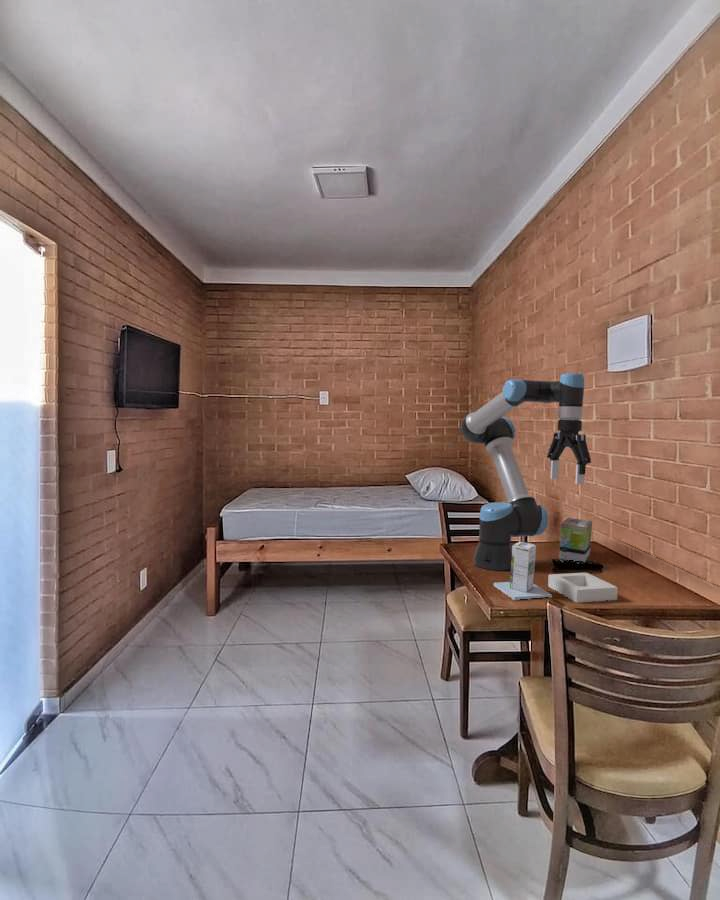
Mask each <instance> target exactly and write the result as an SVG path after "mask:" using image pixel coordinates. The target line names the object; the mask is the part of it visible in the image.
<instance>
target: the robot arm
mask: <svg viewBox="0 0 720 900" xmlns="http://www.w3.org/2000/svg"><path fill="white" fill-rule="evenodd" d="M584 393H585V376H584V375H583V373H573V372H571V373H562V374H561V375H560V379H559V380H555V381H554V380H552V381H549V380H533V379H532V380H529V379H519V378H517V379H516V378H515V379H508V380H506V381H505V383H504V385H503V386H502V392H500V393H499V394H497V395H496V396H495V397H493V398H492V399H491V400H489V401H488V402H487V403H486V404H484V405H483V406H481V407H480V408H479V409H478V410H475V411H473V412H472V411H471V412H469V414H467V415H466V416H465V417H464V418H463V419H462V421H461V423H460V434H461V435H462V437H463V438H464V439H465V440H466V441H468V442H469V443H473V444H484V448H485V449H486V452H488V453H489V452H490V454H491V456H492V459H493V462H494V465H495V467H496V471H497V473H498V477H499V480H500V482H501V486H502V488H503V491H504V495H505V497H506V500H507V502H503V501H500V502H498V501H497V502H489V503H485V504H484V505H482V506H481V508H480V514H479V531H478V532H479V533H478V534H479V535H478V536H479V538H478V544H477V547H476V550H475V552H474V555H473V561H472V562H473V564H474V566H477V567H479V568H482V569H485V570H491V571H511V560H512V546H511V541H512V538H514V537H515V538H519V537H534V536H540V535H541V534H543V533H544V532H545V531H546V529H547V527H548V524H549V514H548V511H547V509H546V507H544V506H543V505H541V504H538V503H537V500H536V499H535V497H534V496H531V495H530V493H529V490H528V488H527V485H526V482H525V480H524V476H523V474H522V472H521V469H520V466H519V464H518V461H517V459H516V456H515V453H514V450H513V448H512V445H513V443H514V439H515V437H516V433H515V432H516V427H515V425H514V422H513V421H512V420H511V419H509V418H507V417H506V416H505V415H507V414H508V413H509V412H511V411H512V410H514V409H516V408H517V407H518V406H520V405H522V404H523V403H527V402H529V403H530V402H531V403H542V404H550V403H558V411H557V412H558V413H557V414H558V415H557V416H558V417H557V418H558V420H557V430H558V431H559V432H554V433H553V438H552V440H551V444H550V446H549V450H548V451H547V454H546V457H547V459H549V460H550V478H549V479H551V480H557V479H558V480H559V476H560V474H559V473H560V459H559V458H560V457H561V455H562V454H563V452H564V451H565V449H566V448H570V449H571V450H572V454H574V457H575V459H576V461H577V463H576V465H575V466H576V467H575V480H574V481H575V485H585V475H586V470H587V469H586V467H587V466H586V465H587V464H591V462H592V459H591V455H590V452H589V448H588V444H587V440H586V439H587V438H586V437H587V436H586V434H584V433H583V434H581V433H579V432H581V431H582V427H583V421H582V420H581V419H582V418H583V407H584V395H585V394H584ZM504 416H505V417H504Z"/></svg>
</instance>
